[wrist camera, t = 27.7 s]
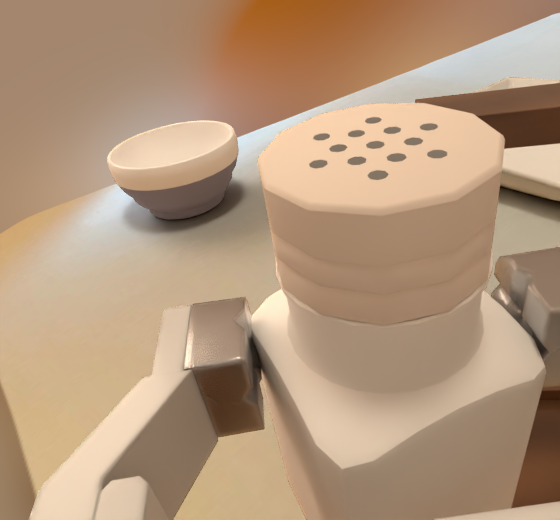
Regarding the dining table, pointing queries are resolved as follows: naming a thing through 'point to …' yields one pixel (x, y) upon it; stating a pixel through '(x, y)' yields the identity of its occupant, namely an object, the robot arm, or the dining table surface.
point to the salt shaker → (392, 317)
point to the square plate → (530, 155)
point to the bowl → (177, 167)
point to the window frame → (518, 133)
